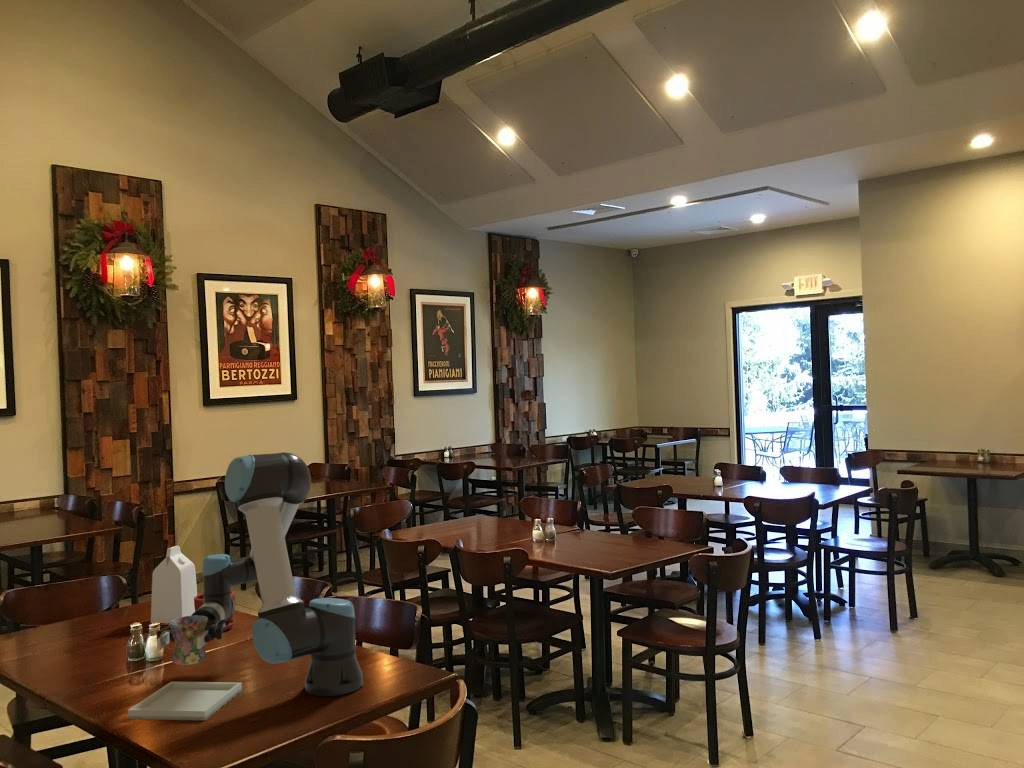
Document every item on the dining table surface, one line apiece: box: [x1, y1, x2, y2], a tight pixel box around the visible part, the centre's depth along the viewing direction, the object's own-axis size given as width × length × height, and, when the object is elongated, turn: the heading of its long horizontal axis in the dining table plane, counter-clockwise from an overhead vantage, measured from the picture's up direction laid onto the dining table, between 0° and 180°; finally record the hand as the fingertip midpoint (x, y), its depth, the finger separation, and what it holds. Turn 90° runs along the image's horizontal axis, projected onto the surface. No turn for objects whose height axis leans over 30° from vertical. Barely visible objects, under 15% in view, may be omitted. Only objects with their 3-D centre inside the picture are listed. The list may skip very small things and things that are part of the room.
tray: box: [127, 681, 243, 721], centre depth 214 cm, size 20×20×2 cm
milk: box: [150, 545, 198, 624], centre depth 296 cm, size 12×12×26 cm
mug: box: [160, 615, 208, 666], centre depth 214 cm, size 12×9×11 cm
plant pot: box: [194, 590, 236, 631], centre depth 284 cm, size 13×13×12 cm
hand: (178, 644), depth 210 cm, fingers closed on mug, 9 cm apart
